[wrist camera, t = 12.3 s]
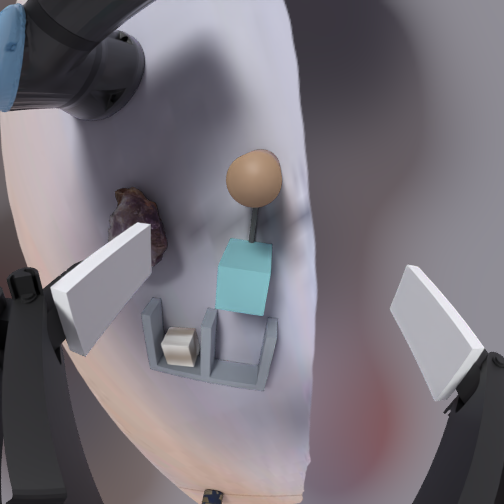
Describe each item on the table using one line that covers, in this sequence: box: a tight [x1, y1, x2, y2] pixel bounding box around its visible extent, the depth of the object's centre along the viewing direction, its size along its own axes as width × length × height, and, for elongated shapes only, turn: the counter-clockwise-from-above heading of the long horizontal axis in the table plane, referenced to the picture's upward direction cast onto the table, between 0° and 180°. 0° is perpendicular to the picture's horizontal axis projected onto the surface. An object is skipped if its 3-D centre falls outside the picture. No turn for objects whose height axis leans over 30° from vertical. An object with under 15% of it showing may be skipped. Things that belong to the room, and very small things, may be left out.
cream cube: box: [161, 327, 200, 367], centre depth 45 cm, size 5×5×5 cm
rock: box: [108, 187, 168, 268], centre depth 36 cm, size 12×9×10 cm
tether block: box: [215, 149, 282, 316], centre depth 32 cm, size 19×6×12 cm, turn 173°
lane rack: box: [141, 297, 277, 391], centre depth 45 cm, size 14×22×5 cm, turn 83°
